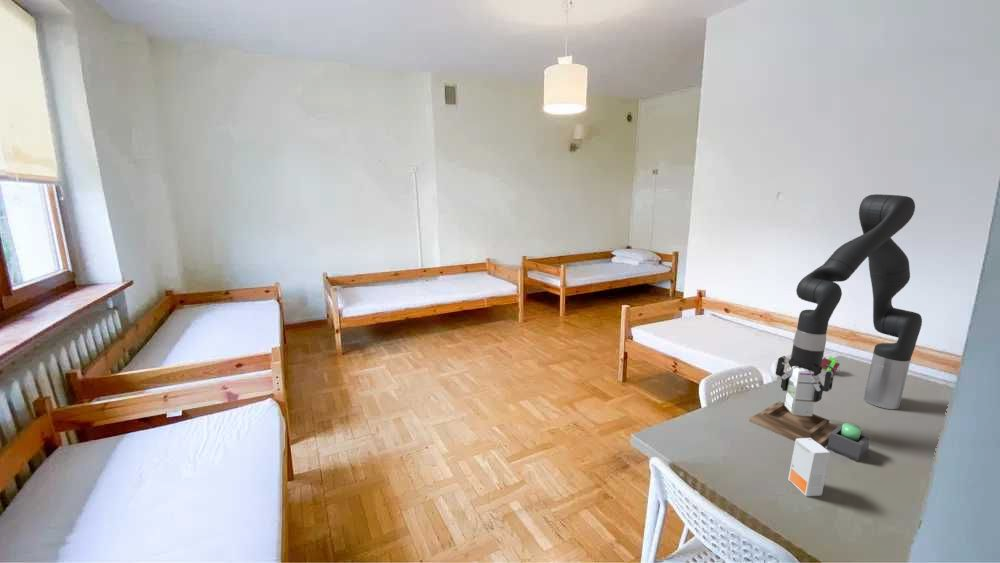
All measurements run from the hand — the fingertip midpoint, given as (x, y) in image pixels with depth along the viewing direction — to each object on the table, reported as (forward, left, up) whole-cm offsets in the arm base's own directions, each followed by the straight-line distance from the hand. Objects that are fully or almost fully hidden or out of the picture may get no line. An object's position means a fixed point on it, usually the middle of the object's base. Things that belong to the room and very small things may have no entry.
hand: (799, 395), depth 129 cm
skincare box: (+29, +14, -10) cm, 34 cm away
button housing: (+2, +14, -10) cm, 17 cm away
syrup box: (0, 0, -5) cm, 5 cm away
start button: (+2, +14, -6) cm, 15 cm away
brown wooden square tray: (0, 0, -10) cm, 10 cm away
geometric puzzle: (-54, -10, -10) cm, 56 cm away
